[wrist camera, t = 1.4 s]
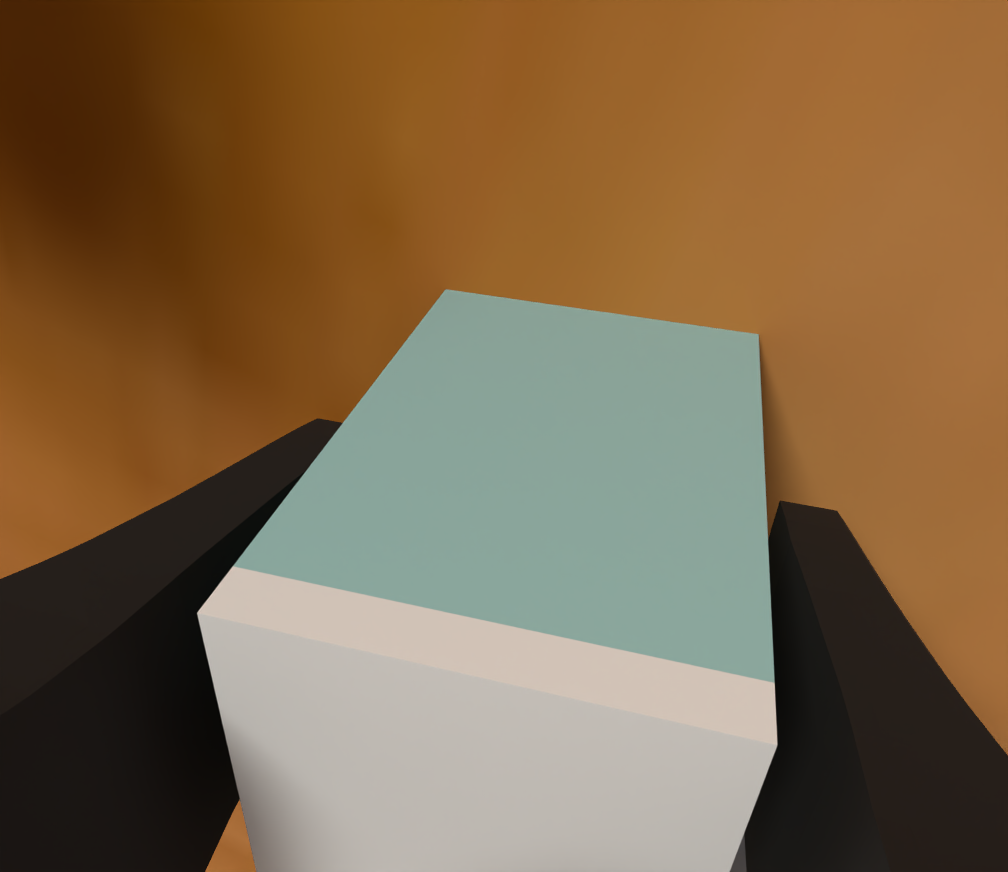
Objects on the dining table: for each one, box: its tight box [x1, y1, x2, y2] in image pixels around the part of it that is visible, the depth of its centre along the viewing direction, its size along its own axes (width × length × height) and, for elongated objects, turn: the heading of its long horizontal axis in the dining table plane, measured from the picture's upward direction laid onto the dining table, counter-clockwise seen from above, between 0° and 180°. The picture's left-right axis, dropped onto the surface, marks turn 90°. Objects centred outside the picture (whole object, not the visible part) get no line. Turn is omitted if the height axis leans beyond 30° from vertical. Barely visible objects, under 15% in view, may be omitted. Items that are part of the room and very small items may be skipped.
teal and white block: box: [197, 290, 777, 872], centre depth 9 cm, size 4×4×6 cm
